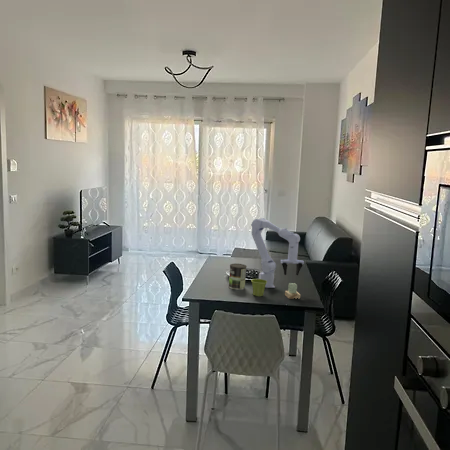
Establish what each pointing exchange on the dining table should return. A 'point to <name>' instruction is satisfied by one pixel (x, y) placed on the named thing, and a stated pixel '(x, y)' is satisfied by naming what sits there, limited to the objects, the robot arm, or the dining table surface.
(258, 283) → the plant pot
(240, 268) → the coffee can
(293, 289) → the sage cube
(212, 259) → the dining table surface
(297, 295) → the oak block
